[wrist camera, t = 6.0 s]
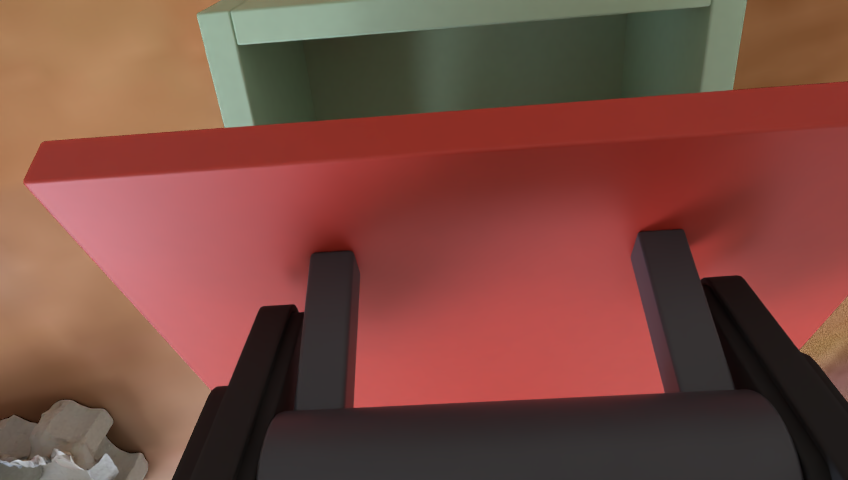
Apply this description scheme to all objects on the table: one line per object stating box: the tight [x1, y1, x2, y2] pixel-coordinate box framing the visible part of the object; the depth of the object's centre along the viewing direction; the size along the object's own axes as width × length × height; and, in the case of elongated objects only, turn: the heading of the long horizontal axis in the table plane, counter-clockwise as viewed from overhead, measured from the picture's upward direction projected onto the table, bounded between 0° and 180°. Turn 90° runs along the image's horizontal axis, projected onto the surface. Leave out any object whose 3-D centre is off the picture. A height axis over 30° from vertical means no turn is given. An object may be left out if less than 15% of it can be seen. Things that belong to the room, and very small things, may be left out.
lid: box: [24, 81, 848, 480], centre depth 14 cm, size 16×13×5 cm
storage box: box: [197, 0, 747, 128], centre depth 21 cm, size 16×13×8 cm
